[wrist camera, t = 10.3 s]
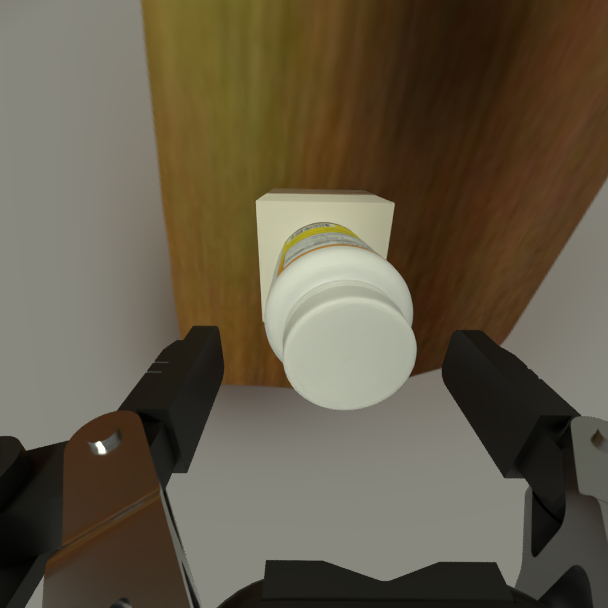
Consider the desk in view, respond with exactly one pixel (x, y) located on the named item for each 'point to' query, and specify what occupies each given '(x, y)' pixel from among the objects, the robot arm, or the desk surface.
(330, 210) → the tower top
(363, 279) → the supplement bottle
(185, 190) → the desk surface
